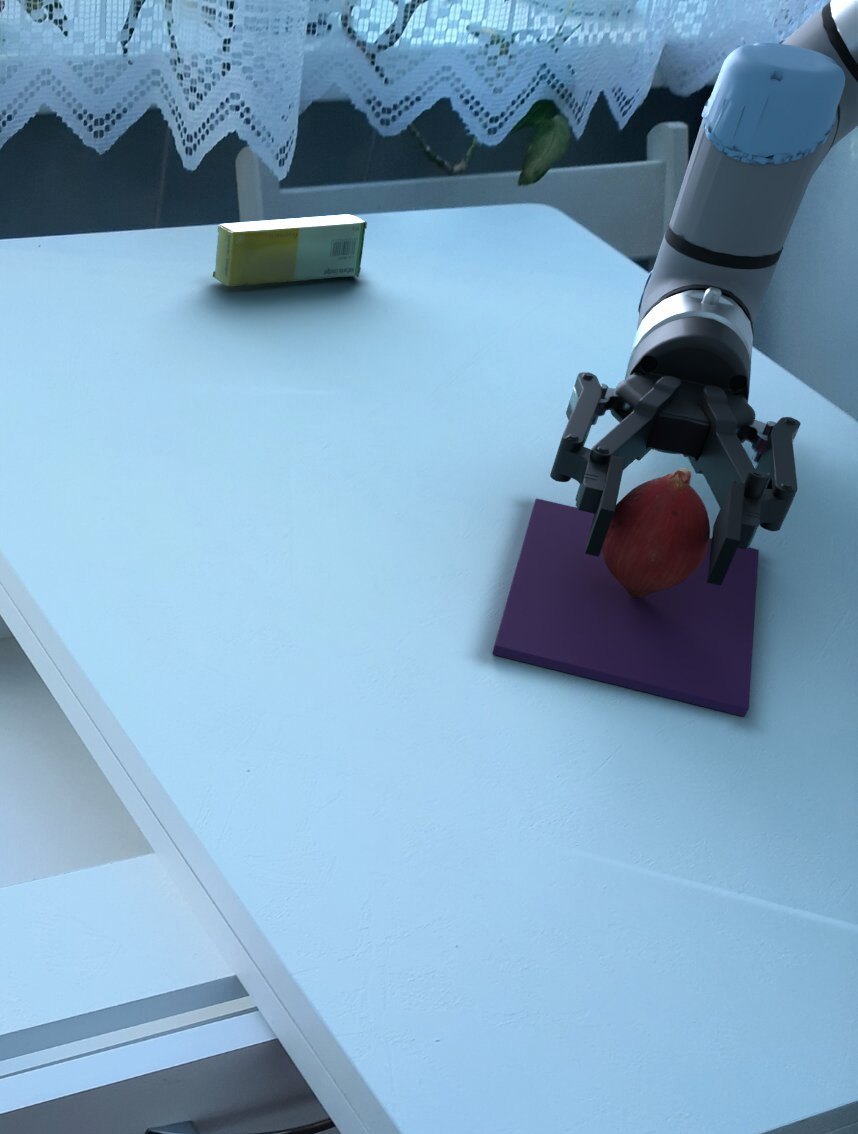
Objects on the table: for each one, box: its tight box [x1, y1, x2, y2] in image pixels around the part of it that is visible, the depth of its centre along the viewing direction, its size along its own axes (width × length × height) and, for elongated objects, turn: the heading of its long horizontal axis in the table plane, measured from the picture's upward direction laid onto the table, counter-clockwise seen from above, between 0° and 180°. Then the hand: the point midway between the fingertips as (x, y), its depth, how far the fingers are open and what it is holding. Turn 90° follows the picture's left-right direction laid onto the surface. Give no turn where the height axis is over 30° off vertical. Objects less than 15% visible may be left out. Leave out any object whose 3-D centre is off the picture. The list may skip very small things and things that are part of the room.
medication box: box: [212, 213, 368, 287], centre depth 117 cm, size 12×3×4 cm, turn 114°
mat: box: [492, 498, 760, 717], centre depth 90 cm, size 14×18×1 cm
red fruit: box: [602, 467, 711, 598], centre depth 87 cm, size 6×6×8 cm
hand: (661, 547), depth 82 cm, fingers open, 6 cm apart
